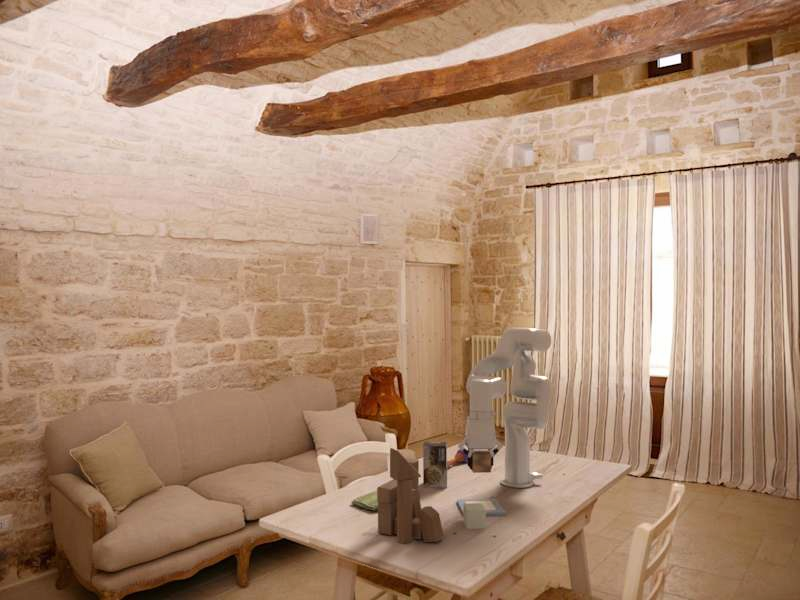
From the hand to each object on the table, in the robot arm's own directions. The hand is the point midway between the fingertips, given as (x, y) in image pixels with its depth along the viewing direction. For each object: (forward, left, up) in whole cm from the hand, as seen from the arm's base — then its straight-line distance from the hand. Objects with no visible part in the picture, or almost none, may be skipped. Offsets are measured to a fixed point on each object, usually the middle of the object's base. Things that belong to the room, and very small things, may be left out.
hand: (480, 467), depth 218 cm
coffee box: (+12, -27, -14) cm, 33 cm away
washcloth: (+34, -8, -15) cm, 38 cm away
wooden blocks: (+24, +20, -14) cm, 34 cm away
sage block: (+5, +15, -14) cm, 21 cm away
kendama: (0, -54, -15) cm, 56 cm away
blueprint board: (0, 0, -14) cm, 14 cm away
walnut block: (0, 0, -1) cm, 1 cm away
